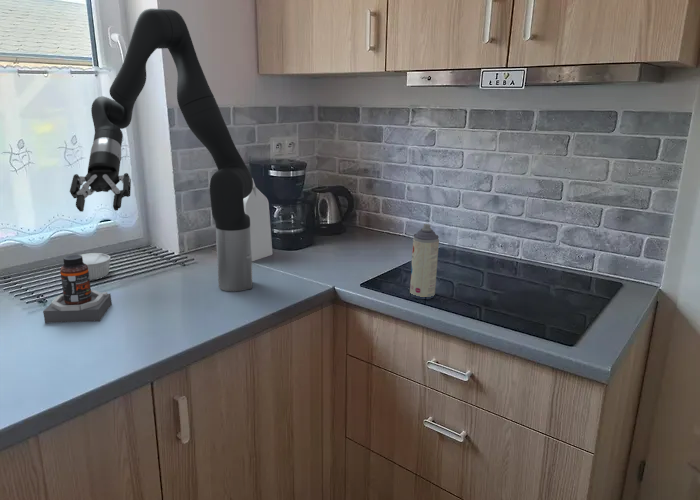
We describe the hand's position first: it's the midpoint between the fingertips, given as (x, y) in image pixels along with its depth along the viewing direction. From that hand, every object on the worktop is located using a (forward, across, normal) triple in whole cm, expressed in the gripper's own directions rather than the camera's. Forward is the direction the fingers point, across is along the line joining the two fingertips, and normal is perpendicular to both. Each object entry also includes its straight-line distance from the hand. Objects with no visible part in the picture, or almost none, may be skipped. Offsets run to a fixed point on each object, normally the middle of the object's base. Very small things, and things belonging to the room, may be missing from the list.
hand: (98, 209), depth 135 cm
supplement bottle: (+23, -3, +5) cm, 24 cm away
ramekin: (+6, -9, +26) cm, 29 cm away
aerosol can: (+24, +84, +12) cm, 88 cm away
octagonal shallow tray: (+26, -3, +7) cm, 27 cm away
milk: (-6, +35, +39) cm, 53 cm away
